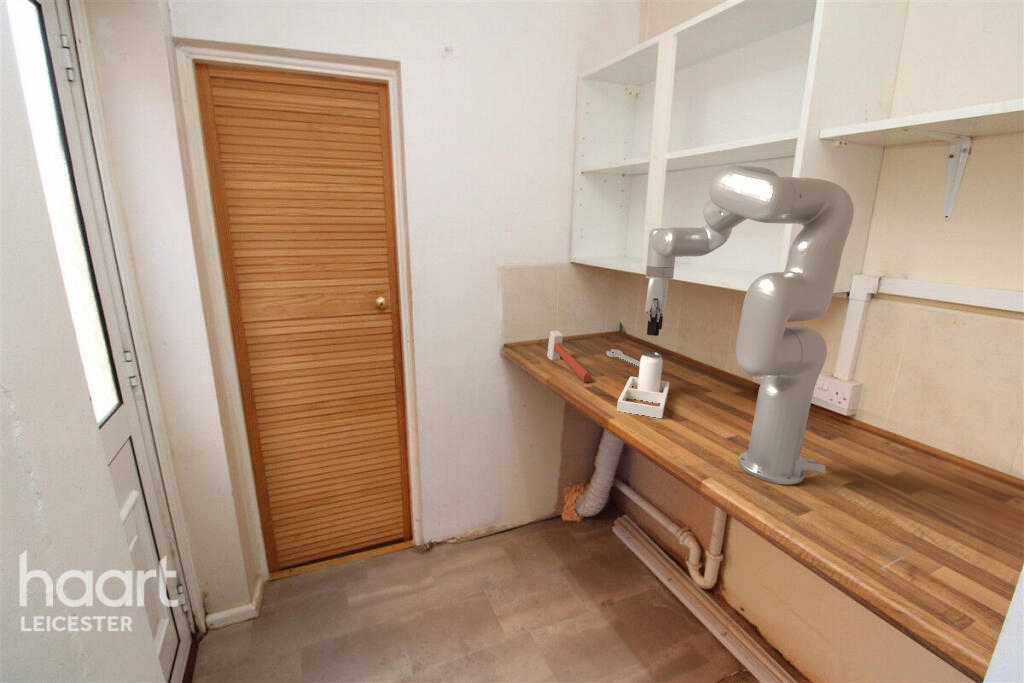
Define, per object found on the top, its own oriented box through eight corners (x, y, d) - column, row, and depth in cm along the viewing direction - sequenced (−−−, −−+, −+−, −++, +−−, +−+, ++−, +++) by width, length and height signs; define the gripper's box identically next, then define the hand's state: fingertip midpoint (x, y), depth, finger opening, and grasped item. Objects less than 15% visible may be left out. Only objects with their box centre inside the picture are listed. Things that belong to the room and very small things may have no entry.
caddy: (668, 391, 145) (669, 382, 144) (661, 419, 124) (663, 408, 124) (629, 385, 149) (630, 376, 149) (616, 411, 129) (617, 401, 128)
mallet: (594, 365, 148) (558, 329, 174) (584, 366, 147) (549, 330, 173) (589, 394, 153) (555, 355, 179) (580, 395, 152) (546, 356, 178)
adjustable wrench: (656, 372, 164) (657, 367, 164) (641, 374, 162) (641, 369, 161) (616, 352, 187) (616, 348, 186) (602, 354, 184) (602, 349, 184)
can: (634, 388, 146) (637, 351, 143) (654, 388, 147) (658, 351, 144) (641, 396, 140) (645, 357, 137) (662, 395, 141) (666, 357, 137)
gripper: (649, 270, 141) (644, 325, 145) (642, 274, 126) (637, 336, 130) (675, 271, 139) (670, 327, 143) (671, 276, 123) (665, 339, 127)
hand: (654, 332), depth 136 cm, fingers open, 9 cm apart
